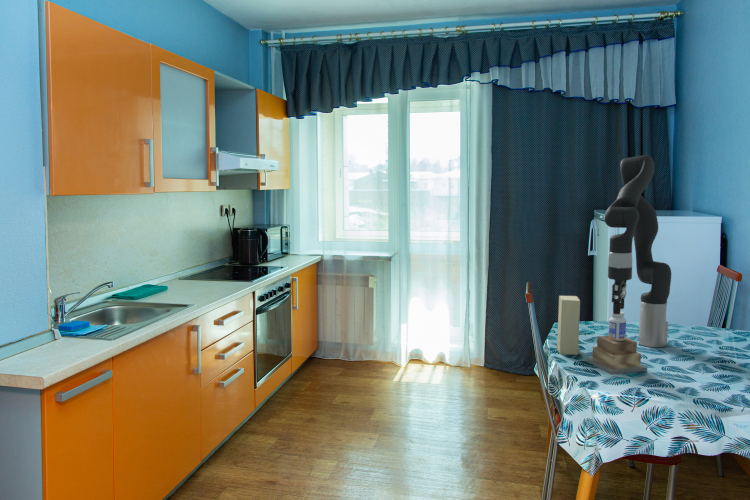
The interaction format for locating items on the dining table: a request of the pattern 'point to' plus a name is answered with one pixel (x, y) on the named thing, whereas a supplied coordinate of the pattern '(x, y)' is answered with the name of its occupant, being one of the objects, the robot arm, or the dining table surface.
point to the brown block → (616, 353)
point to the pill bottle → (617, 327)
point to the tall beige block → (568, 325)
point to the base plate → (616, 371)
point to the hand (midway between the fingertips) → (618, 311)
